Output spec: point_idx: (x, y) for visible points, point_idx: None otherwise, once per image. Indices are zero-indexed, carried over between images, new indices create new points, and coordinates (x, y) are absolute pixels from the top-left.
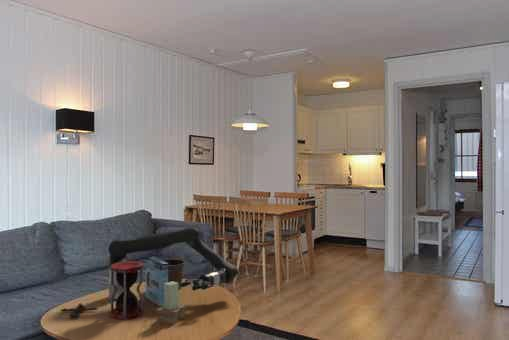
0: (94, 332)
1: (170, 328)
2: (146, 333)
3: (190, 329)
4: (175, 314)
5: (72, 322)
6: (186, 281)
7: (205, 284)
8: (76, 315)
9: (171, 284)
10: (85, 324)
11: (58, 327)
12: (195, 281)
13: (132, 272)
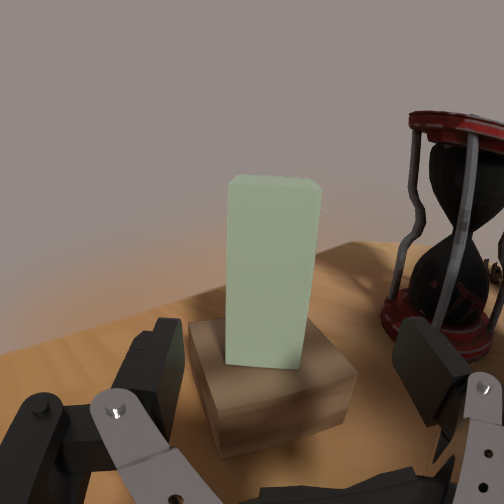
0: (329, 259)
1: None
2: (217, 296)
3: (90, 366)
4: (189, 338)
5: (418, 259)
6: (473, 376)
7: (6, 439)
8: None
9: (245, 176)
10: (393, 264)
11: None
12: (401, 495)
13: (433, 140)
